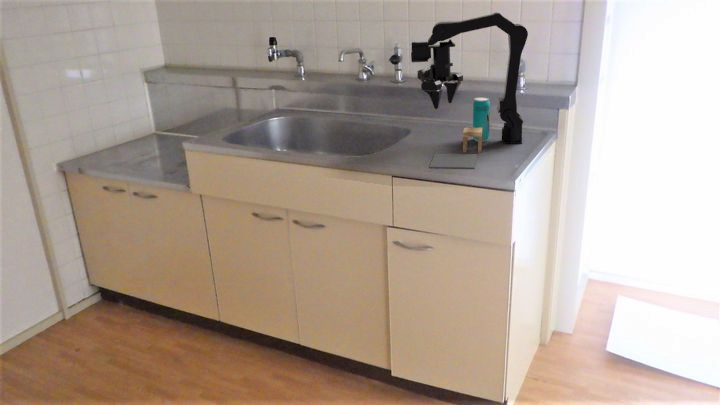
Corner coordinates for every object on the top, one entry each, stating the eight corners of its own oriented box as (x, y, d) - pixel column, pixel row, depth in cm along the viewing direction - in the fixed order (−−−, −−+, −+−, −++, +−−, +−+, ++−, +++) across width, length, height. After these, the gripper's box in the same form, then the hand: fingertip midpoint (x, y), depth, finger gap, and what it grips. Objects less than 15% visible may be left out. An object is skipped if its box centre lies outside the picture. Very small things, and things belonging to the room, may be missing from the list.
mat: (477, 155, 199) (477, 154, 199) (474, 168, 186) (474, 167, 186) (435, 154, 203) (435, 153, 202) (429, 167, 190) (429, 166, 190)
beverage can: (489, 142, 212) (489, 100, 206) (472, 142, 213) (472, 100, 208) (489, 138, 217) (489, 96, 212) (473, 138, 218) (473, 97, 213)
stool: (482, 147, 207) (482, 127, 204) (481, 152, 201) (481, 132, 199) (464, 147, 208) (464, 127, 206) (463, 152, 203) (463, 132, 200)
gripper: (436, 55, 216) (437, 98, 221) (406, 64, 203) (409, 110, 208) (463, 56, 209) (464, 100, 215) (434, 65, 196) (436, 112, 202)
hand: (443, 105), depth 210 cm, fingers open, 9 cm apart
